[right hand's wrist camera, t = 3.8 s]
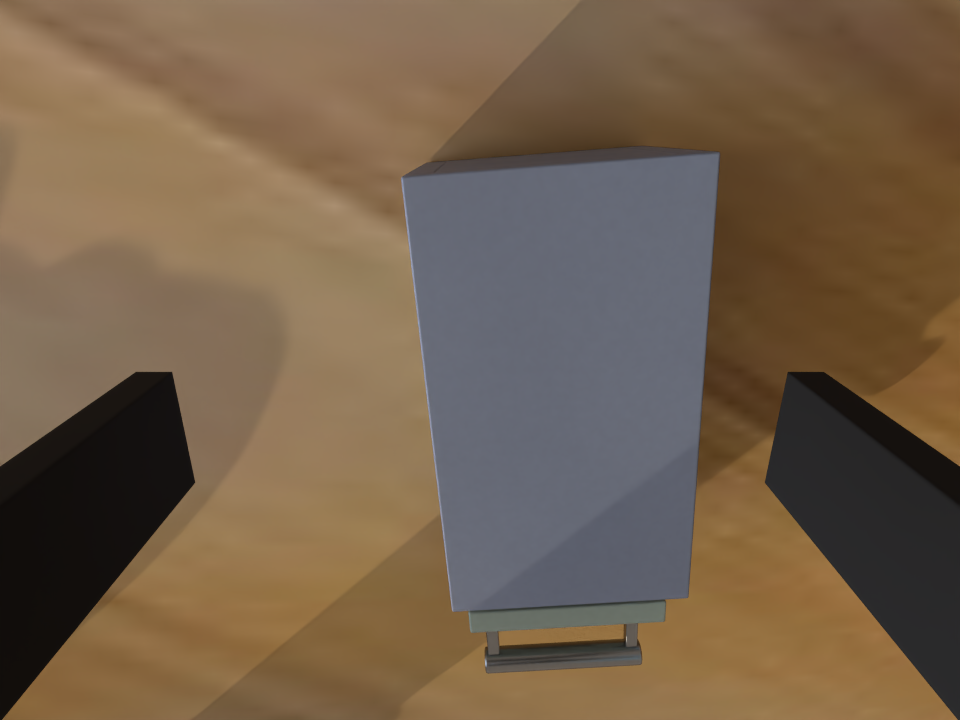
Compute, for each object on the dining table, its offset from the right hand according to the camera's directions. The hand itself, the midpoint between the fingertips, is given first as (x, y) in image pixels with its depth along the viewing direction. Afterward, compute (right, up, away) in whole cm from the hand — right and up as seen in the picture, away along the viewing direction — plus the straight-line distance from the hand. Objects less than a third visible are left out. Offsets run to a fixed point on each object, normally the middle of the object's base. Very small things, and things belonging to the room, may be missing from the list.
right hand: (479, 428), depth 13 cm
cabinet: (+3, +3, +18) cm, 18 cm away
